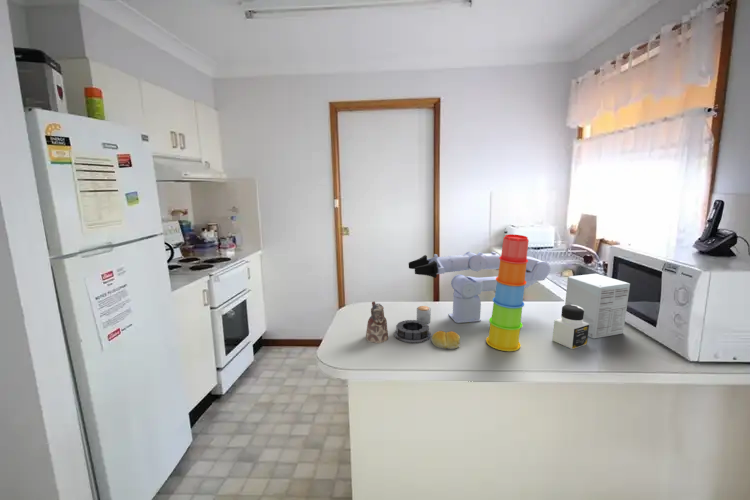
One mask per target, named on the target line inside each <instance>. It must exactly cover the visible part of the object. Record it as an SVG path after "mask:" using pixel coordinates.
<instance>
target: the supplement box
mask: <svg viewBox="0 0 750 500" xmlns="http://www.w3.org/2000/svg"><path fill="white" fill-rule="evenodd" d="M630 287H631V283H629V282H626V281H623V280H619V279H616V278H611V277H610V276H606V275H602V274H599V273H589V274H582V275H581V274H580V275H572V276H570V275H569V276H568V277H567V281H566V293H565V301H564V302H565V303H564V305H576V306H579V307H581V308H583V310H584V316H583V321H584V322H586V323H589V330H588V337H590V338H592V339H599V338H600V339H601V338H604V337H609V336H616V335H621V334H622V335H623V334H624V330H625V323H626V315H627V314H626V313H627V308H628V302H629V301H628V300H629V295H630Z"/></svg>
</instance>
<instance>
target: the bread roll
mask: <svg viewBox="0 0 750 500" xmlns="http://www.w3.org/2000/svg"><path fill="white" fill-rule="evenodd" d="M431 343H432V344H433V346H435V347H436V348H439V349H448V350H455V349H459V348H460V347H461V336H460V335H459V334H458V333H457V332H455V331H452V330H451V331H450V330H449V331H447V332H446V331H444V330H438V331H435V333H433V334H432V336H431Z"/></svg>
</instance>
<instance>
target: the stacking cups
mask: <svg viewBox="0 0 750 500" xmlns="http://www.w3.org/2000/svg"><path fill="white" fill-rule="evenodd" d="M528 249H529V238H528V236H525V235H521V234H510V233H509V234H506V235H505V236H504V237H503V240H502V249H501V255H500V257H499V259H500V265H499V269H498V273H497V276H498V277H496V281H497V285H496V291H494V292H495V294H494V297H493V298H492V302H493V305H492V312H491V317H490V318H489V319H488V321H489V324H490V326H489V331H488V336H487V337H486V338H485V341H486V343H487V344H488V346H490V347H491V348H493V349H495V350H498V351H502V352H516V351H518V350H519V349H521V346H522V345H521V343H520V333H521V329H522V328H523V323H522V321H521V320H522V315H523V314H522V312H523V307H525V302H524V294H525V288H524V286H525V285H526V281H525V273H526V264H527V262H528V260H527V257H528Z"/></svg>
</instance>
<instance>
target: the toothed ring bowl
mask: <svg viewBox="0 0 750 500" xmlns="http://www.w3.org/2000/svg"><path fill="white" fill-rule="evenodd" d="M395 328H396V329H395V330H394V334H393V335H394V337H395V338H396V340H398V341H400V342H404V343H407V344H419V343H424V342H427V341H428V340H430V339H431V338H432V336H431V331H430V326H429V324H426V323H424V322H422V321H417V319H406V320H402V321H399V322H398V323H397V324H396V326H395Z"/></svg>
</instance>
